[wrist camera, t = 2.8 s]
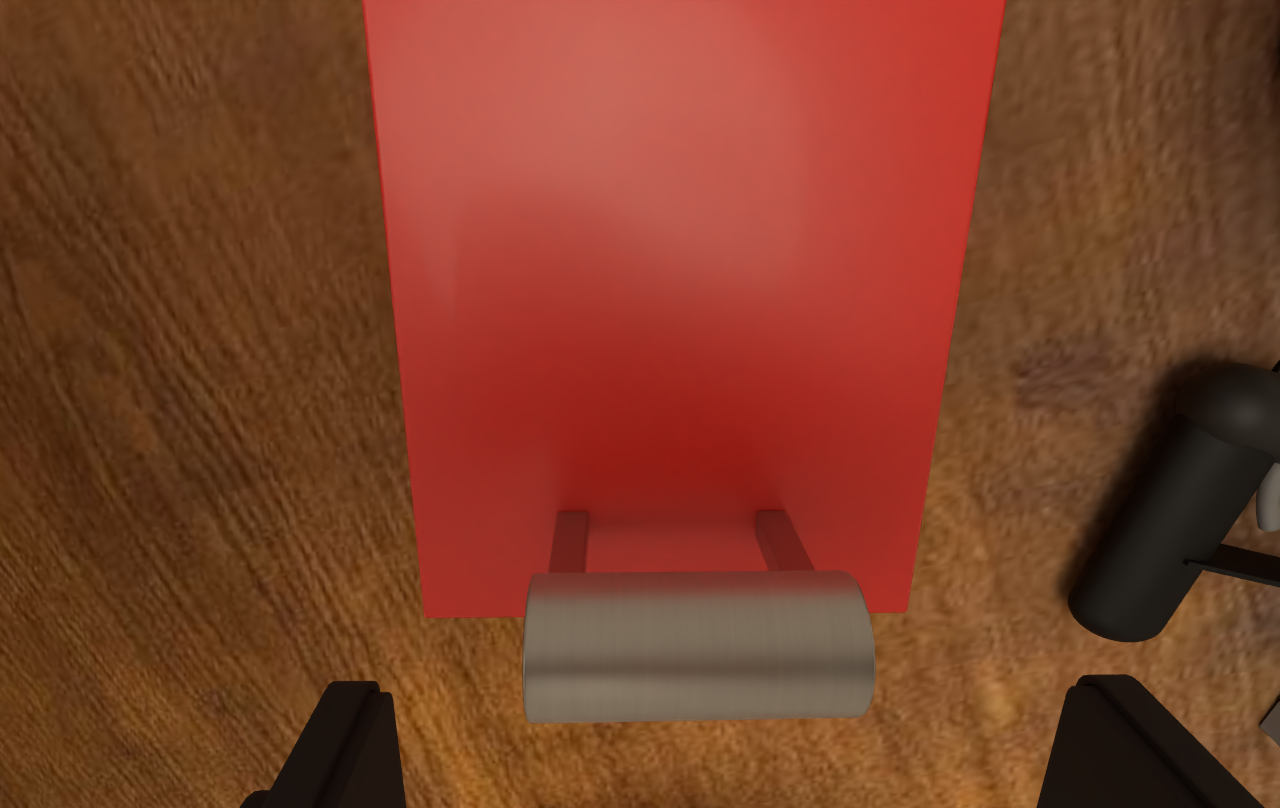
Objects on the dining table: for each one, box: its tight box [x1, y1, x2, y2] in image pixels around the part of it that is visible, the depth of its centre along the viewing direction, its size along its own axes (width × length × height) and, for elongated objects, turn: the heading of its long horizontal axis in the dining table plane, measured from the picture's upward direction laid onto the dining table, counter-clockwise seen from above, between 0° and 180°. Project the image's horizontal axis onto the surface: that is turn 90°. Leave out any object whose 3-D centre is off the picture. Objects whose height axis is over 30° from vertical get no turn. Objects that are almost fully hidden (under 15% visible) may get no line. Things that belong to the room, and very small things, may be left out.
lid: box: [362, 0, 1006, 723], centre depth 13 cm, size 13×12×6 cm
